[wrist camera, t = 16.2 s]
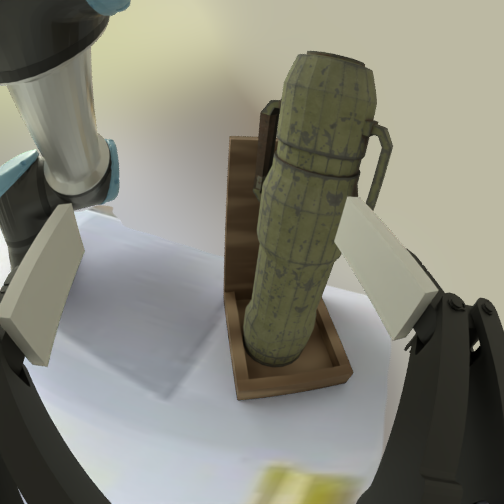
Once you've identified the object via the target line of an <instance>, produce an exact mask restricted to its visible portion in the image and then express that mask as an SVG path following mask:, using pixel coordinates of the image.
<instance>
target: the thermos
mask: <svg viewBox="0 0 504 504" xmlns="http://www.w3.org/2000/svg"><path fill="white" fill-rule="evenodd" d="M376 105H377V99H376V89H375V83H374V76H373V71H372V70H370V69H368V68H366V67H365V64H364V63H362V62H360V61H357V60H355V59H351V58H348V57H344V56H340V55H336V54H331V53H325V52H317V51H307V55H306V54H299V55H298V56H297V58H296V60H295V61H294V63H293V65H292V67H291V69H290V71H289V73H288V75H287V77H286V79H285V81H284V86H283V93H282V99H281V100H271V101H270V102H269V103H268V104H267V105H266V107H265V108H264V109H263V110H262V111H261V115H260V125H259V137H258V149H257V160H256V172H255V179H254V185H253V192H254V194H255V196H256V197H257V199H258V201H259V202H260V209H259V217H258V224H257V235H258V240H259V243H260V245H259V252H258V259H257V265H256V272H255V279H254V286H253V293H252V299H251V301H250V302H249V304H248V305H247V307H246V310H245V317H244V325H243V330H244V335H243V345H244V348H245V350H246V352H247V354H248V355H249V356H250V357H251V358H252V359H253V360H254V361H256V362H258V363H260V364H262V365H265V366H269V367H283V366H286V365H289V364H292V363H293V362H294V361H295V360H297V359H298V358H299V356H300V354H301V353H302V351H303V349H304V347H305V346H306V344H307V342H308V340H309V338H310V336H311V333H312V331H313V329H314V325H315V320H316V315H317V314H316V310H317V307H318V305H319V302H320V300H321V297H322V294H323V292H324V289H325V286H326V284H327V281H328V278H329V275H330V273H331V270H332V267H333V264H334V262H335V261H336V260H337V259H338V258H339V257H340V255H341V254H342V253H341V251H340V250H339V248H338V247H337V245H336V244H335V242H334V240H335V237H336V234H337V230H338V227H339V224H340V220H341V217H342V213H343V210H344V206H345V203H346V199H347V197H358V185H357V184H358V180H359V176H360V170H359V167H360V163H361V159H362V158H363V157H364V156H365V153H366V149H367V145H368V140H369V137H370V136H373V135H376V136H378V137H379V140H380V143H381V146H382V150H381V153H380V157H379V161H378V164H377V168H376V171H375V175H374V178H373V182H372V185H371V188H370V192H369V195H368V198H367V201H366V204H367V205H368V206H369V207H370V208H371V209H372V211H373V210H374V207H375V204H376V201H377V198H378V195H379V192H380V189H381V186H382V182H383V179H384V176H385V173H386V169H387V166H388V162H389V159H390V155H391V152H392V147H393V145H392V141H391V138H390V135H389V132H388V129H387V128H385V127H383V126H380V125H378V122H377V121H374V120H373V119H374V115H375V109H376ZM279 114H280V115H279ZM278 120H279V122H278ZM277 128H278V130H277ZM276 135H277V138H278V139H279V140H278V147H277V150H276V151H275V153H274V150H275V142H276Z"/></svg>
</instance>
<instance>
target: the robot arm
mask: <svg viewBox="0 0 504 504" xmlns="http://www.w3.org/2000/svg"><path fill="white" fill-rule="evenodd" d="M129 5H130V0H0V85H7V87H8V89H9V92H10V94H11V96H12V98H13V101H14V103H15V105H16V107H17V109H18V111H19V113H20V115H21V117H22V119H23V121H24V123H25V125H26V127H27V129H28V131H29V133H30V135H31V136H32V138H33V140H34V142H35V144H36V145H37V147H38V149H39V151H40V152H41V154H42V156H40V157H39V153H38V152H37V150H30V151H27V152H24V153H22V154H20V155H18V156H16V157H14V158H13V159H11V160H9V161H8V162H6V163H5V164H3V165H2V166H1V167H0V228H1V231H2V233H3V236H4V238H5V241H6V243H7V246H8V251H9V259H10V264H11V272H10V273H9V275H8V277H7V279H6V280H5V282H4V286H2V288H1V290H0V504H24V502H23V500H22V498H21V495H20V493H19V490H20V492H21V494H22V496H23V497H24V499H25V500H26V502H27V504H111V503H110V501H109V500H108V499H107V498H106V497H105V496H104V495H103V493H102V492H101V491H100V490H99V489H98V487H97V486H96V485H95V484H94V482H93V481H92V480H91V479H90V477H89V476H88V475H87V473H86V472H85V471H84V469H83V468H82V467H81V465H80V464H79V462H78V461H77V459H76V458H75V457H74V455H73V454H72V452H71V451H70V449H69V448H68V446H67V445H66V443H65V441H64V440H63V438H62V437H61V435H60V433H59V432H58V430H57V428H56V426H55V425H54V423H53V421H52V419H51V418H50V416H49V414H48V412H47V410H46V408H45V406H44V404H43V403H42V401H41V399H40V396H39V394H38V392H37V390H36V388H35V386H34V384H33V382H32V379H31V377H30V375H29V372H28V370H27V368H26V367H25V365H24V364H23V361H24V358H25V357H26V358H27V359H28V360H29V361H30V362H31V364H32V365H38V366H46V367H48V363H49V359H50V355H51V351H52V347H53V343H54V339H55V335H56V332H57V328H58V325H59V321H60V318H61V315H62V312H63V309H64V305H65V302H66V299H67V297H68V294H69V291H70V288H71V285H72V282H73V280H74V277H75V274H76V272H77V269H78V267H79V264H80V262H81V259H82V257H83V254H84V252H85V250H84V247H83V243H82V240H81V237H80V233H79V230H78V226H77V222H76V219H75V215H74V211H75V210H78V209H82V208H86V207H90V206H94V205H102V204H104V203H106V202H109V201H112V200H114V199H115V198H116V197H117V195H118V192H119V162H118V154H117V148H116V145H115V143H114V141H113V140H111V139H104V138H103V137H102V136H101V135H100V134H98V133H97V127H96V119H95V110H94V99H93V86H92V70H91V46H92V45H93V44H94V43H95V42H96V41H97V40H98V39H99V38H100V37H101V35H102V34H103V32H104V31H105V29H106V27H107V25H108V22H109V17H110V16H112V15H115V14H116V13H117V12H120V11H124V10H126V9H127V8H128V7H129ZM334 242H335V244H336V245H337V247H338V248H339V250H340V251H341V253H342V255H343V256H344V258H345V259H346V261H347V263H348V264H349V266H350V267H351V269H352V271H353V272H354V274H355V276H356V277H357V279H358V281H359V282H360V284H361V285H362V287H363V289H364V291H365V292H366V294H367V296H368V298H369V299H370V301H371V303H372V304H373V306H374V308H375V310H376V311H377V313H378V315H379V317H380V319H381V320H382V322H383V324H384V326H385V328H386V330H387V331H388V333H389V335H390V337H391V339H392V341H394V340H397V339H401V338H405V337H406V336H407V335H408V334H409V333H410V331H411V330H412V328H414V330H415V332H416V334H415V336H414V337H413V338H412V339H411V341H410V342H409V343H408V344H407V345H406V347H405V349H404V350H405V351H407V349H408V348H409V347H410V346H411V350H410V357H409V363H408V368H407V373H406V377H405V382H404V387H403V391H402V395H401V399H400V403H399V406H398V410H397V414H396V418H395V421H394V424H393V427H392V431H391V434H390V437H389V440H388V443H387V446H386V449H385V452H384V454H383V457H382V460H381V462H380V465H379V468H378V470H377V473H376V475H375V477H374V480H373V482H372V484H371V486H370V487H369V489H368V490H367V491H365V492H364V493H363V494H362V495H361V497H360V498H359V499H358V501H357V503H356V504H504V331H503V328H502V325H501V322H500V319H499V316H498V314H497V311H496V309H495V307H494V306H493V304H492V303H491V302H490V301H489V300H487V299H485V298H479V299H478V300H477V301H476V303H475V304H474V305H473V306H469V305H465V303H464V302H463V300H462V299H461V298H460V297H458V296H457V295H455V294H452V293H444V291H443V290H442V289H441V287H440V286H439V285H438V283H437V282H436V281H435V279H434V278H433V277H432V275H431V274H430V273H429V272H428V271H427V269H426V268H425V266H424V265H422V263H421V261H420V260H419V259H418V258H417V257H416V256H415V255H414V254H413V253H412V252H410V251H409V250H408V249H406V248H405V247H404V246H403V244H402V243H401V242H400V241H399V240H398V239H397V238H396V236H395V235H394V234H393V233H392V232H391V231H390V229H389V228H388V227H387V226H386V225H385V224H384V223H383V221H382V220H381V219H380V218H379V217H378V216H377V215H376V214H375V213H374V212H373V211H372V209H371V208H370V207H369V206H368V205H367V204H366V203H365V202H364V201H363V200H362V199H361V198H360V197H347V199H346V203H345V206H344V210H343V213H342V217H341V220H340V224H339V227H338V230H337V234H336V237H335V240H334ZM478 340H479V341H480V346H479V348H478V349H477V350H476V351H474V350H473V346H474V345H475V343H476V342H477V341H478ZM17 487H18V488H17ZM18 489H19V490H18Z"/></svg>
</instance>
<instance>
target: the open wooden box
mask: <svg viewBox="0 0 504 504" xmlns="http://www.w3.org/2000/svg"><path fill="white" fill-rule="evenodd" d="M278 140H279V139H278V138H276V142H275V150H274V153H275V151H276V150H277V147H278ZM257 149H258V137H246V136H243V137H242V136H230V140H229V156H228V176H227V198H226V224H225V225H226V226H225V255H224V306H225V314H226V322H227V330H228V338H229V345H230V353H231V360H232V367H233V374H234V381H235V388H236V395H237V400H247V399H256V398H264V397H272V396H279V395H286V394H292V393H298V392H304V391H309V390H315V389H320V388H325V387H330V386H334V385H339V384H343V383H346V382H347V381H348V379H349V378H350V377H351V375H352V374H353V370H352V368H351V365H350V363H349V360H348V358H347V355H346V353H345V350H344V348H343V346H342V343H341V341H340V338H339V336H338V334H337V331H336V329H335V326H334V324H333V322H332V319H331V317H330V315H329V313H328V310H327V308H326V306H325V303H324V301H323V299H322V297H321V300H320V302H319V305H318V307H317V310H316V314H317V315H316V320H315V325H314V329H313V331H312V333H311V336H310V338H309V340H308V342H307V344H306V346H305V347H304V349H303V351H302V353H301V354H300V356H299V358H298V359H297V360H295V361H294V362H293V363H292V364H289V365H286V366H283V367H269V366H265V365H262V364H260V363H258V362H256V361H254V360H253V359H252V358H251V357H250V356H249V355H248V354H247V352H246V350H245V348H244V345H243V335H244V330H243V325H244V317H245V310H246V307H247V305H248V304H249V302H250V301H251V299H252V293H253V286H254V279H255V272H256V265H257V259H258V252H259V245H260V243H259V240H258V235H257V224H258V217H259V209H260V202H259V201H258V199H257V197H256V196H255V194H254V192H253V185H254V179H255V172H256V160H257Z"/></svg>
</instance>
